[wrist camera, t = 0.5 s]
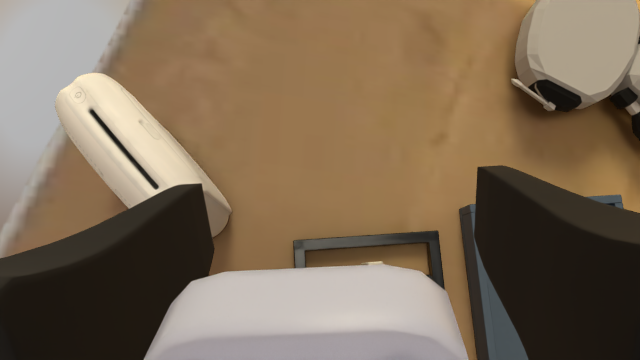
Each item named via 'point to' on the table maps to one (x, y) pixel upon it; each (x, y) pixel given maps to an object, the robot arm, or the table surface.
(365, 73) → the table surface
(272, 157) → the table surface
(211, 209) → the photo printer
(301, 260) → the rack
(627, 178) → the table surface
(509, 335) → the tray
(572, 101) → the robot toy
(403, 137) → the table surface
